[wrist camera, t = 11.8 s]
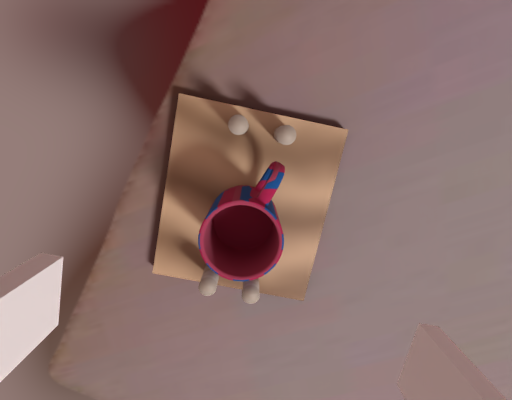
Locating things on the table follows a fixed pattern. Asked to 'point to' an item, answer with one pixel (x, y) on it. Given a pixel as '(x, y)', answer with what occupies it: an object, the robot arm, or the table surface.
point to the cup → (244, 229)
